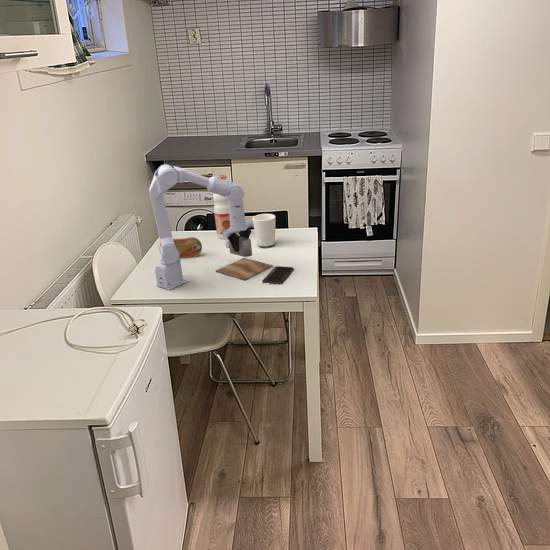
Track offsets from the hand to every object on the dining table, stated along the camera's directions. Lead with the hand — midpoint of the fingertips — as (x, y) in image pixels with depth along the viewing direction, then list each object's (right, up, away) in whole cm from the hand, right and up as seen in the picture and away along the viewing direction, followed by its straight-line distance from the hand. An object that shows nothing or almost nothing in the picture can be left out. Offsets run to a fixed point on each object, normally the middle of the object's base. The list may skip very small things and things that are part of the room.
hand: (240, 249), depth 218 cm
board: (+1, -8, +4) cm, 9 cm away
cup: (+9, +3, +28) cm, 30 cm away
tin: (-25, -2, +22) cm, 33 cm away
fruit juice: (-9, +8, +43) cm, 45 cm away
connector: (0, -2, +1) cm, 2 cm away
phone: (+15, -11, -5) cm, 19 cm away
